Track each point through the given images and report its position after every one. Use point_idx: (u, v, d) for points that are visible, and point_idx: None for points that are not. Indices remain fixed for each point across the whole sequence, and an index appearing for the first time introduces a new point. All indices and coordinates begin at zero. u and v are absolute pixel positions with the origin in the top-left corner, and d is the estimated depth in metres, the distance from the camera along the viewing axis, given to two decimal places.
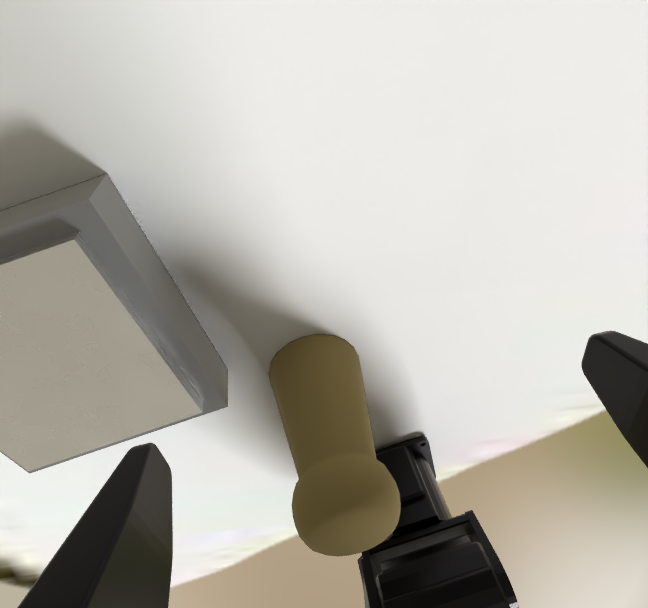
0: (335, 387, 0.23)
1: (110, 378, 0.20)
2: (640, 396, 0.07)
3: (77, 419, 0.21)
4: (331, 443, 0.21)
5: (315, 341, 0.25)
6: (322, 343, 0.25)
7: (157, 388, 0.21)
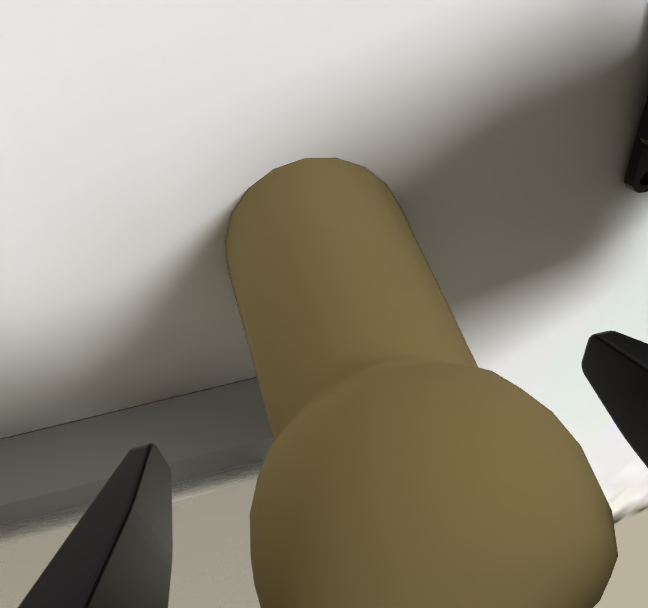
0: (248, 303, 0.10)
1: None
2: (640, 396, 0.07)
3: (239, 567, 0.17)
4: (274, 438, 0.08)
5: (227, 255, 0.13)
6: (229, 246, 0.13)
7: (197, 515, 0.15)
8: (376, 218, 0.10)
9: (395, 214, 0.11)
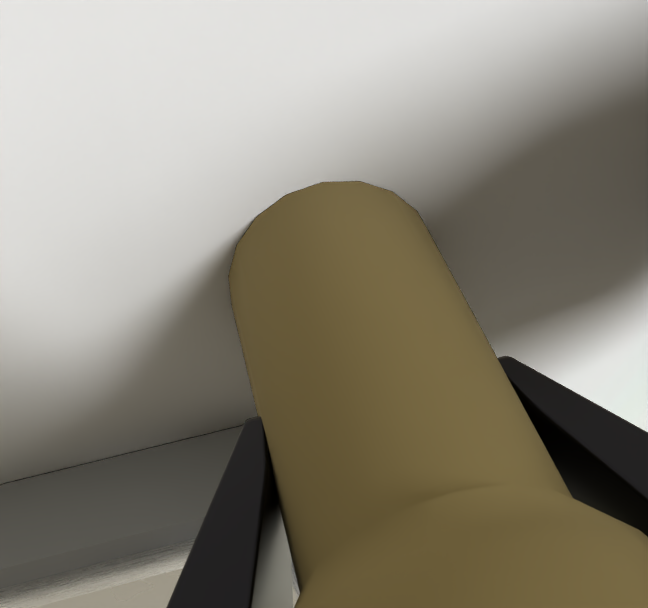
0: (257, 366, 0.08)
1: None
2: None
3: None
4: (294, 563, 0.06)
5: (231, 293, 0.11)
6: (234, 284, 0.11)
7: None
8: (414, 261, 0.08)
9: (433, 252, 0.09)
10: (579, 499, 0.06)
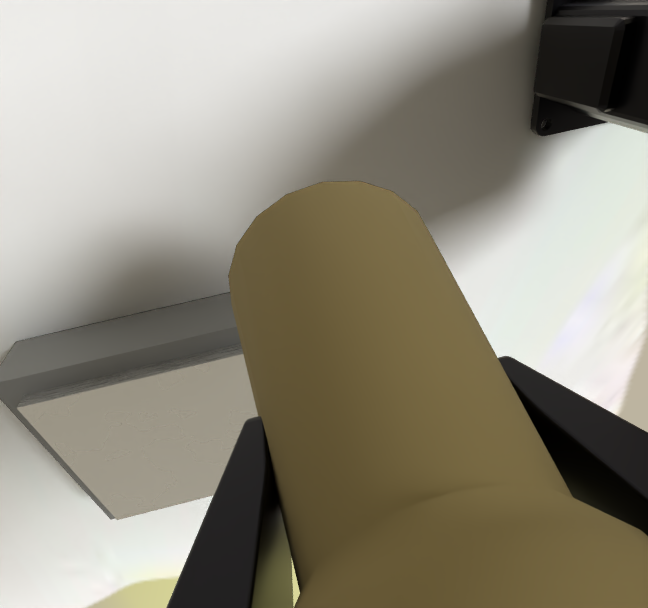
0: (258, 366, 0.08)
1: (190, 410, 0.20)
2: None
3: None
4: (294, 563, 0.06)
5: (231, 293, 0.11)
6: (234, 284, 0.11)
7: (212, 380, 0.20)
8: (414, 261, 0.08)
9: (433, 252, 0.09)
10: (579, 499, 0.06)
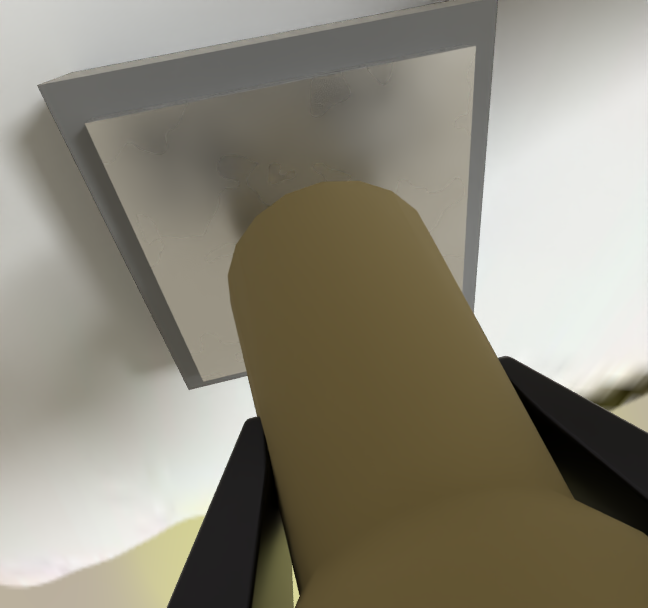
0: (257, 367, 0.08)
1: (343, 169, 0.13)
2: None
3: None
4: (293, 565, 0.06)
5: (230, 293, 0.11)
6: (233, 284, 0.11)
7: (388, 107, 0.12)
8: (414, 261, 0.08)
9: (433, 252, 0.09)
10: (579, 499, 0.06)
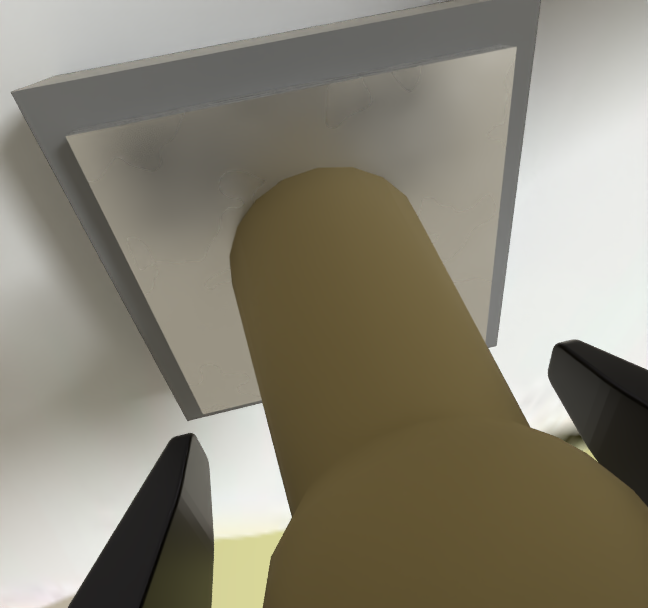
0: (257, 332, 0.09)
1: None
2: (600, 406, 0.07)
3: None
4: (288, 497, 0.07)
5: (232, 272, 0.12)
6: (235, 263, 0.11)
7: (414, 117, 0.11)
8: (400, 237, 0.09)
9: (419, 231, 0.10)
10: None
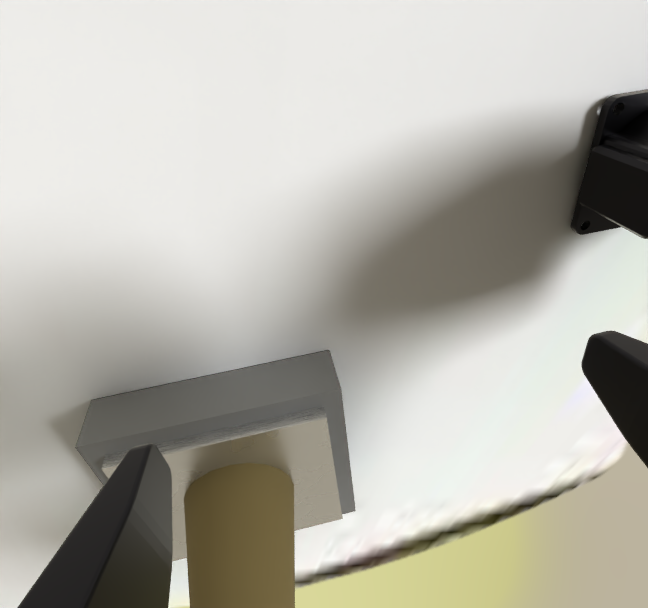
0: (190, 574, 0.19)
1: None
2: (640, 396, 0.07)
3: (296, 490, 0.24)
4: None
5: (184, 511, 0.22)
6: (185, 509, 0.22)
7: (278, 444, 0.21)
8: (258, 529, 0.20)
9: (274, 512, 0.21)
10: None
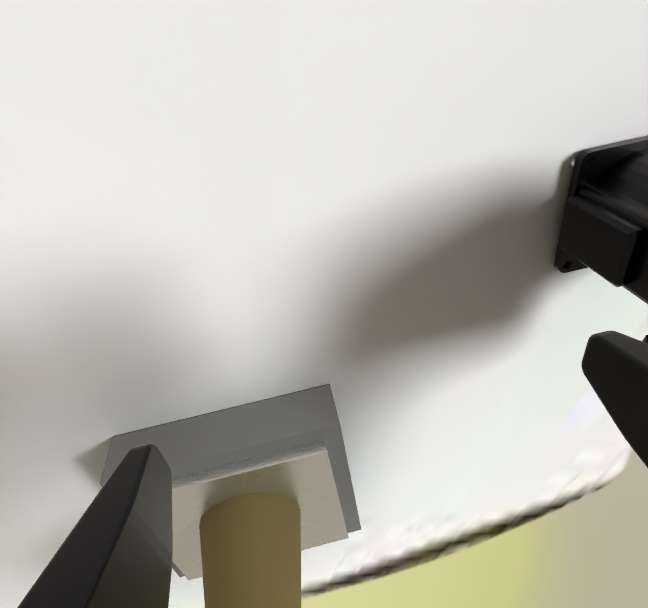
0: (206, 598, 0.21)
1: None
2: (640, 396, 0.07)
3: (302, 514, 0.26)
4: None
5: (200, 536, 0.24)
6: (201, 536, 0.24)
7: (283, 475, 0.23)
8: (266, 556, 0.21)
9: (281, 539, 0.22)
10: None
